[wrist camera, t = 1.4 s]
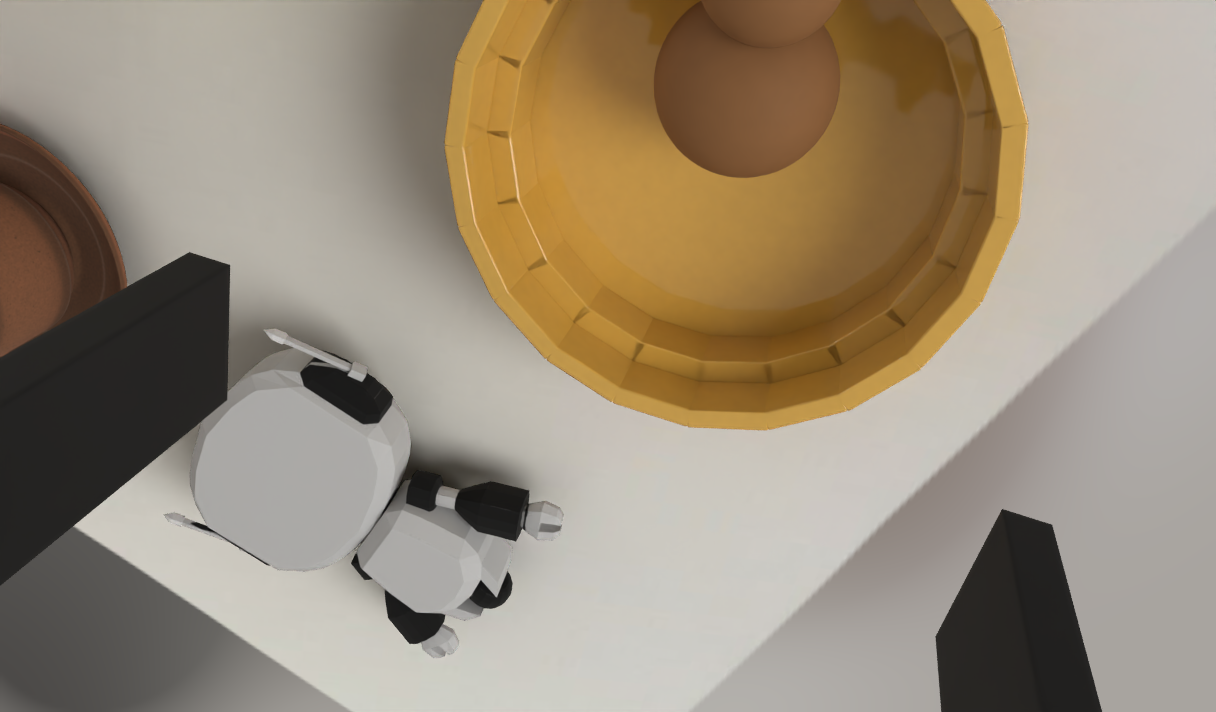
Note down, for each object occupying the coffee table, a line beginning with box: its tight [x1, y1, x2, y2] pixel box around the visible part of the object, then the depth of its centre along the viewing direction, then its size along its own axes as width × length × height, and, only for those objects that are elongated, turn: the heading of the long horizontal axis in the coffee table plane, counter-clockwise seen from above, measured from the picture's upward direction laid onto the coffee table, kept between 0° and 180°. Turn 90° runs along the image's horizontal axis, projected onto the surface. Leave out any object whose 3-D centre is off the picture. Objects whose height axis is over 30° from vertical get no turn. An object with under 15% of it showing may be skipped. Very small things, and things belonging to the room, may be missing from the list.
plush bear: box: [654, 0, 841, 178], centre depth 28 cm, size 6×6×10 cm
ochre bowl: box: [444, 0, 1028, 430], centre depth 32 cm, size 17×17×5 cm
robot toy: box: [163, 328, 564, 658], centre depth 42 cm, size 12×4×15 cm
